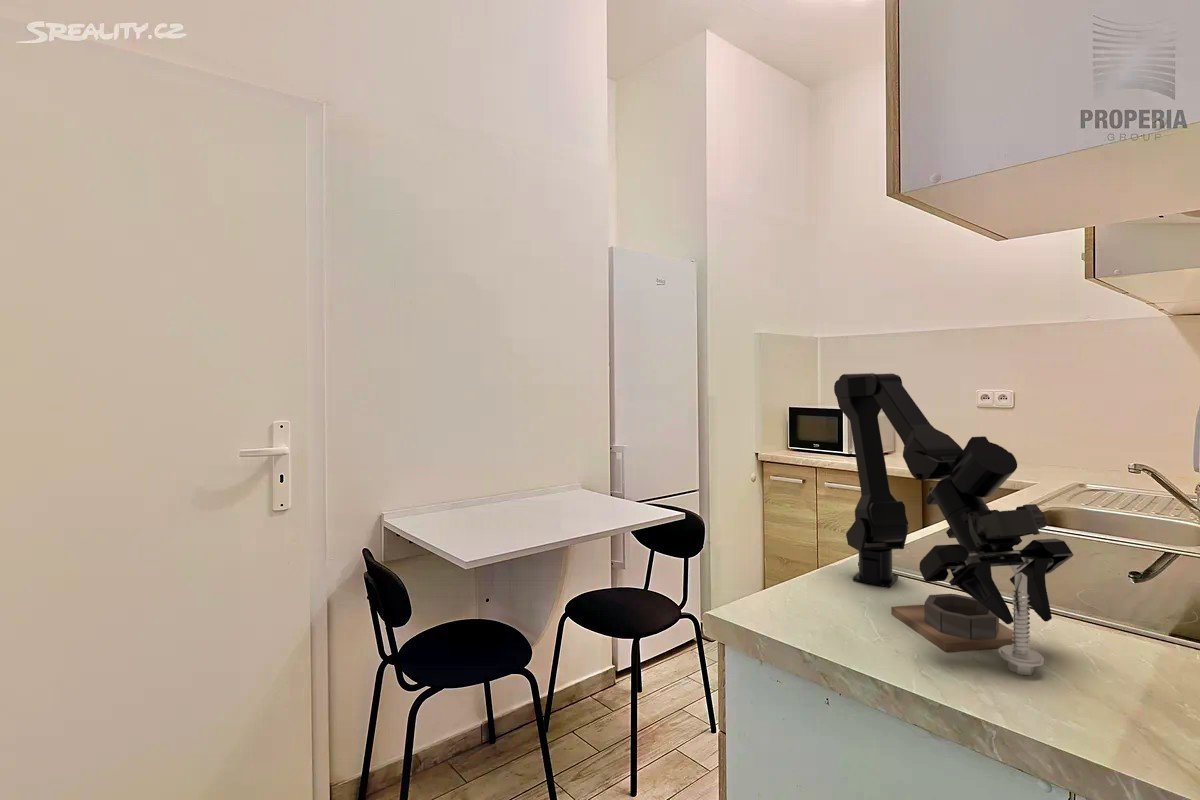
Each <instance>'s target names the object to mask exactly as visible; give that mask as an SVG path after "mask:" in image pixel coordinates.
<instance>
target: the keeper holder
mask: <svg viewBox="0 0 1200 800" xmlns="http://www.w3.org/2000/svg"><path fill="white" fill-rule="evenodd" d="M890 609H891V610H890V611H891V615H892V616H894V617H895V618H896V619H898V620H899V621H901V622H902V623H904V624H905V625H907V626H908V627H909V628H911V629H912V630H914V631H915V632H917V633H918V634H920V635H921V636H922V637H924V638H925V639H927V640H928V641H929V642H931V643H932V644H934V645H935V646H937V647H938V648H939V649H941V650H942V651H944V652H945V653H947V652H949V653H950V652H962V651H963V652H964V651H975V650H989V649H990V650H991V649H999V648H1001V647H1003V646H1005V645H1012V644H1013V643H1014V641H1013V640H1012V639H1014V637H1013V636H1012V635H1013V634H1014V632H1012V630H1013V629H1011V628H1009V627H1007V626H1006V625H1004V624H1002V623H1000V618H998V617H997V616H996V615H995V614H993V613H992V612H991V611H990V610H988V609H987V608H986V607H985V606H984V605H982V604H981V603H980V602H978V601H977V600H976V599H974V598H973V597H972V596H968V595H961V594H957V593H940V594H938V593H937V594H930V595H928V596H927V597H926V599H925V601H924V604H914V605H910V604H909V605H898V606H894V605H893V606H891V607H890Z"/></svg>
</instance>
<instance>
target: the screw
mask: <svg viewBox="0 0 1200 800" xmlns="http://www.w3.org/2000/svg"><path fill="white" fill-rule="evenodd" d="M1014 575H1015V586H1014V589H1013V591H1012V592H1013V594H1012V597H1013V599H1011V600H1012V601H1013V603H1012V604H1011V605H1012V606H1013V607H1012V608H1011V609H1012V610H1013V612H1011V615H1013V616H1012V617H1013V620H1014V621H1013V622H1012V623H1013V625H1012V626H1011V628H1013V629H1011V630H1012V632H1014V634H1013V635H1012V636H1013V637H1014V639H1012V640H1013V641H1014V643H1013V644H1012V645H1005V646H1003V647H1001V648H997V649H998V651H997V652H998V655H999V657H1000V658H1002V659H1004V660H1005V661H1006V662H1007V669H1008V670H1010V672H1013V673H1015V674H1017V675H1020V676H1021V675H1022V676H1023V675H1024V676H1031V675H1032V674H1033V673H1034V667H1040V666H1043V665H1044V664H1045V658H1044V656H1043V655H1041V653H1039V652H1038V651H1036V650H1034V649H1033V648H1032V649H1031V648H1030V646H1031V645H1030V636H1031V635H1030V633H1031V631H1030V630H1029V629H1030V628H1031V627H1030V624H1031V623H1030V621H1029V620H1030V619H1031V617H1030V615H1031V613H1030V612H1029V611H1031V610H1030V608H1029V607H1031V606H1030V604H1029V603H1028V602H1029V601H1030V599H1028V597H1029V594H1027V576H1026V575H1025V574H1023V573H1022V572H1020V573H1017V574H1014ZM1012 623H1011V624H1012Z"/></svg>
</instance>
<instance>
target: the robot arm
mask: <svg viewBox="0 0 1200 800" xmlns="http://www.w3.org/2000/svg"><path fill="white" fill-rule="evenodd" d="M833 391H834V395H835V397H836V400H837V403H838V408H839V410H840V411H841V412H842V413H843V414H844V416H845V417H846V418H847V419H848V420H849V422H850V429H851V435H852V440H853V441H852V442H853V449H854V456H855V461H856V462H855V463H856V469H857V474H858V480H859V486H860V487H859V488H860V493H861V494H860V498H859V500H858V502H857V504H856V506H855V509H854V522H853V523H852V524H851V526H850V527H849V529H848V530H847V532H846V534H845V537H846V541H847V546H850V547H851V548H853V549H854V550H856V551H858V572H857V573H855V574H854V575H853V577H852V580H853V581H854V582H855V581H856V582H860V583H863V584H864V583H865V584H870V585H875V586H880V587H886V588H890V587H891V588H892V585H893V584H894V583H895V582H896V581H897V580H898V578H899V575H898V574H895V573H893V550H904V548H905V544H906V541H907V537H908V532H909V520H908V518H907V514H906V505H905V504H904V502H903V501H900V500H899V501H898V500H897V499H896V498H895V496H894V495H893V494H892V493H891V490H890V484H889V482H890V481H889V477H888V472H887V466H886V458H885V453H884V448H883V441H882V435H881V429H880V423H879V422H880V421H879V414H880V412H881V410H882V412H883V413H884V415H885V416H886V418H887V420H888V421H889V422H890V424H891V426H892V427H893V428H894V431H895V432H896V433H897V435H898V437H899V438H900V439H901V441H902V444H903V451H902V458H903V459H904V461H905V463H906V464H905V465H906V467H907V470H909V473H910V474H911V475H912V477H913V478H914V479H915V480H917V481H924V482H925V481H938V482H937V483H936V485H934V486H930V487H929V488H928V493H927V496H926V498H925V504H926V505H927V506H936V505H937V506H938V508H939V510H940V512H941V514H942V515H943V517H944V519H945V522H946V523H947V525H948V526H949V528H948V529H947V530H946V532H945V533H946V534H947V535H946V536H947V537H948V539H956V541H957V543H955V544H954V543H953V544H936V545H934V546H933V547H932V548H931V549H930V550H929V551H928V552H927V553H926V555H924V556H923V558H922V559H921V560H920V561H919V571H920V574H921V575H922V577H923V580H924V581H925V582H927V583H932V582H934V583H935V582H944V581H946V580H947V578H948V575H949V574H950V573H949V571H950V572H951V575H952V578H951V579H950V580H949V581H948V583H949V585H950V586H951V587H956V588H959V589H960V590H962V592H964V593H965V594H967V595H969V597H973V598H974V599H976V600H977V601H978V602H980V603H981V604H982V605H984V606H985V607H986V608H987V609H988V610H990V611H991V612H992V613H993V614H995V615H996V616H997V617H998V618H999V620H1001V621H1002V622H1004V624H1006V625H1011V624H1012V622H1013V621H1014V619H1013V617H1014V616H1013V614H1012V612H1011V611H1010V608H1009V606H1008V604H1007V602H1006V601H1005V600H1004V597H1003V596H1002V594H1001V592H1000V590H999V589H998V587H997V585H996V583H995V581H994V579H993V575H992V567H1005V566H1007V567H1010V569H1011V570H1012V571H1013V574H1014V575H1012V576H1011V577H1010V578H1009V581H1010V582H1011V584H1013V586H1014V587H1015V574H1017V573H1020V572H1022V573H1023V574H1025V575H1026V576H1027V594H1029V597H1028V599H1030V601H1029V602H1028V603H1029V604H1030V606H1029V607H1031V608H1032V609H1033V611H1034V612H1035V613H1036V615H1037V616H1039V617H1040V619H1042V621H1044V622H1049V621H1051V620H1052V618H1053V615H1052V612H1051V607H1050V602H1049V601H1050V600H1049V596H1048V595H1049V594H1048V591H1047V585H1046V575H1048V574H1051V573H1052V572H1054V571H1055V570H1057V568H1059V567H1060V566H1062V565H1064V564H1065V563H1066V562H1067V561H1068V560H1070V559H1071V558H1073V556H1075V554H1074V553H1073V552H1072V550H1071V549H1070V547H1069V546H1068V545H1067V543H1066V542H1065V540H1062V539H1059V538H1042V539H1032V541H1031V540H1030V542H1029V543H1028V544H1027V545H1025V546H1024V547H1023V548H1022V549H1017V550H1014V546H1019V544H1021V543H1022V542H1023V539H1022V538H1021V537H1025V536H1029V535H1033V536H1036V535H1040V534H1041V532H1040V531H1039V530H1040V529H1043V528H1044V529H1045V528H1046V527H1047V524H1048V521H1047V519H1046V516H1045V513H1044V512H1043V511H1042V510H1041V509H1040V507H1038V505H1037V504H1036V503H1034V504H1033V503H1031V504H1023V505H1019V506H1015V507H1016V508H1015V509H1014V510H1013V509H1011V510H1001V511H1000V510H998V509H990V508H989V506H988V504H987V503H986V502H985V500H984V499H983V498H987V497H992V495H994V493H995V492H997V491H998V489H999V488H1000V487H1002V485H1003V484H1004V483H1005V482H1006V481H1007V480H1008V479H1009V478H1010V477H1011V476H1012V475H1013V473H1014V472H1016V470H1017V469H1018V462H1017V459H1016V457H1015V455H1014V454H1013V453H1012V452H1010V451H1008V450H1007V449H1006V448H1004V447H1003V446H1001V445H999V444H997V443H994V442H990V441H989V439H988V438H987V436H984V435H983V436H971V437H970V438H969V440H968V441H967V443H966V445H965V446H964V448H962V446H960V445H959V444H958V443H957V442H956V441H955V439H953V438H952V437H951V436H950V435H948V434H946V433H945V432H943V431H941V430H939V429H936V428H935V427H934V426H933V425H932V424H931V423H930V422H929V420H928V419H927V417H926V415H925V414H924V412H923V411H922V410H921V409H920V407H919V406H918V405H917V404H916V402H915V400H914V399H913V398H912V396H911V395H910V394H909V392H908V391H907V390H906V388H905V387H904V385H903V381H902V378H901V376H899V374H896V373H874V372H873V373H872V372H870V373H844V374H841V376H839V378H838V379H837V380H836V381H835V383H834V386H833ZM948 570H949V571H948Z"/></svg>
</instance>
